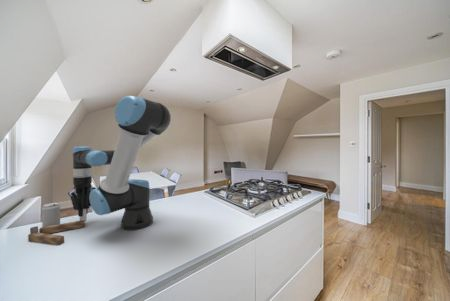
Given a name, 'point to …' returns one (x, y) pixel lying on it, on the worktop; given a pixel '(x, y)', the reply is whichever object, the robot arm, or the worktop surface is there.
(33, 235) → the bar
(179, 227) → the worktop surface
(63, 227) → the bar
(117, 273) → the worktop surface
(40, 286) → the worktop surface
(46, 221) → the beverage can
